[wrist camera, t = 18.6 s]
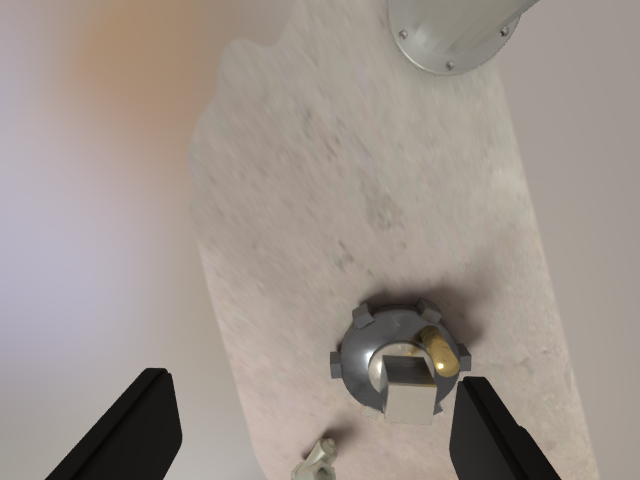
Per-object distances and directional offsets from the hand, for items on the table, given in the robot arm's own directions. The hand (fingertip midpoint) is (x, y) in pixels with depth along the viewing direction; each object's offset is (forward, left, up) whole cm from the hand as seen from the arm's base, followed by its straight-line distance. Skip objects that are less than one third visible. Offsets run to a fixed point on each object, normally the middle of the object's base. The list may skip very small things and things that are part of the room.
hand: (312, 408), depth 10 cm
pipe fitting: (+35, -1, -29) cm, 45 cm away
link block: (+18, +9, -24) cm, 31 cm away
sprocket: (+18, +9, -27) cm, 34 cm away
